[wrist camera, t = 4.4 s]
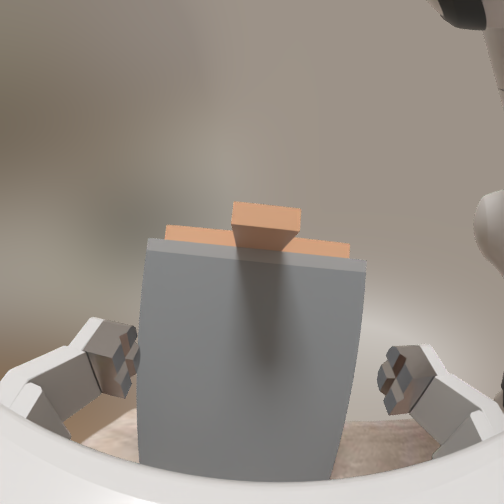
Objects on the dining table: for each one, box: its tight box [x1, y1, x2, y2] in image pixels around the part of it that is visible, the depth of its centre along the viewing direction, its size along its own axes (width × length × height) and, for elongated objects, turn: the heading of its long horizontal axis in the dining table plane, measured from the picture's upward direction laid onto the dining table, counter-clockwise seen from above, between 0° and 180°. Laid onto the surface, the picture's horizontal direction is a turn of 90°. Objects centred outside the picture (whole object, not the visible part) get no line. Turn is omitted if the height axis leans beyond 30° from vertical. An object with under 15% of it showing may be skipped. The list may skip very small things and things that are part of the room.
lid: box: [165, 202, 350, 258], centre depth 26 cm, size 17×23×2 cm
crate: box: [137, 238, 366, 482], centre depth 29 cm, size 18×16×26 cm
